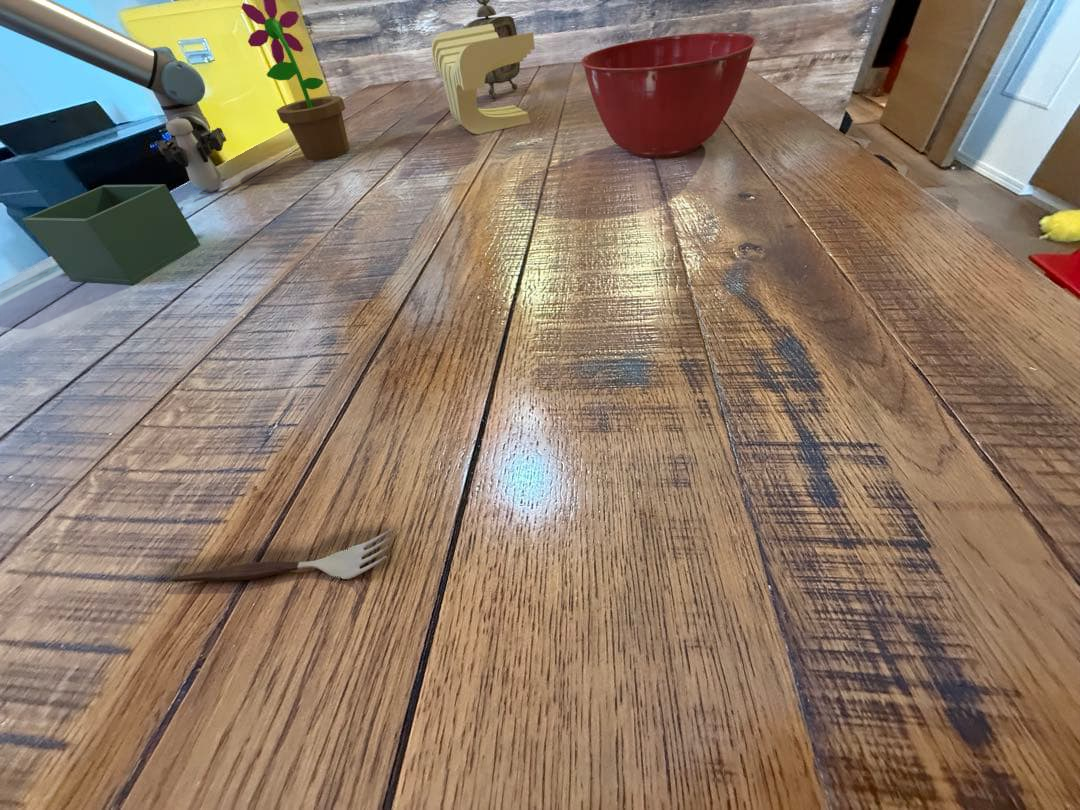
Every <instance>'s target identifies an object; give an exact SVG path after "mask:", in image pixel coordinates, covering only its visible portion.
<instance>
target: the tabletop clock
mask: <svg viewBox="0 0 1080 810" xmlns="http://www.w3.org/2000/svg"><path fill="white" fill-rule="evenodd" d="M476 2H477V3H478V4H480V5H481V6H480V7H479V8H478V10H477V12H476V19H474V20H472V21H470V22H468V23H467V24H466V25H465V26H464V27H463V29H465V28H471V27H476V26H482V25H487V24H492V25H493V27H494V29H495V32H497V34H498V36H499V38H504V37H510V36H515V35H518V33H517V28H516V23H515V20H514V17H512V16H510V15H502V16H496V15H497V12H496V10H495V8H494V7H493V6H492V5H488V3H489V2H491V0H476ZM520 65H521V62H517V63H513V64H509V65H506V66H503V67H500V68H497V69H495V70H493V71H491V72H489V73H487V74H486V77H485V84H488V85H489V89H488V91H487V92H488V95H489V96H490V98H491V99H492V100H494V101H495V100H497V98H498V94H497V93H496V92H495V87H494V85H495V84H503V83H506V82H508V83H509V84H510V85H511V89H512V90H513V91H517V89H518V85H517V84H516V83H514V82H513V79H514V78H516V77H517V76H518V75H519V73H520V69H521V66H520Z"/></svg>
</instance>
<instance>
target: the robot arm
mask: <svg viewBox="0 0 1080 810" xmlns="http://www.w3.org/2000/svg"><path fill="white" fill-rule="evenodd" d="M0 27H3V28H5V29H7V30H9V31H12V32H14V33H16V34H19V35H20V36H23V37H25V38H28V39H30V40H33V41H35V42H37V43H40V44H42V45H45V46H47V47H49V48H51V49H54V50H56V51H58V52H60V53H63V54H66V55H68V56H70V57H73V58H75V59H77V60H79V61H82V62H85V63H86V64H89V65H92V66H94V67H96V68H98V69H101V70H103V71H106V72H108V73H110V74H112V75H114V76H117V77H120V78H122V79H124V80H127V81H129V82H131V83H134V84H135V85H138V86H141V87H143V88H145V89H147V90H149V91H151V92H152V93H153V94H154V96H155V98H156V100H157V102H158V104H159V105H160V108H161V110H162V113H163V114H164V115H165V118H166V119H167V122H169V121H171V120H174V119H180V118H183V119H187V120H189V122H190V123H191V125H192V127H193V131H192V134H193V135H194V137H195V138H196V139H197V141H198V142H197V143H196V145H197V149H198V151H199V153H200V155H201V157H202V159H203V161H204V163H206V162H208V157H209V155H211V154H213V152H214V151H216V152H221V151H222V150H223V146H224V143H225V142H226V141H227V138H226V135H225V134H224V132H223V129H222V128H221V127H216V128H215V129H212V130H211V126H210V124H209V121H208V119H207V117H205V116H204V113H203V111H202V109H201V107H200V104H199V102H201V101H202V100H203V99H204V96H205V94H206V86H205V82H204V81H205V80H204V79H203V77H202V75H201V74H200V73H199V71H197V69H196V68H194V67H193V66H192V65H190V64H188V63H187V62H184V61H182V60H178V58H176V56H175V55H174V53H173V50H172V49H171V48H170V47H168V46H157V47H150V46H148V45H146V44H144V43H142V42H140V41H137V40H136V39H133V38H132V37H130V36H128V35H125V34H123V33H121V32H119V31H116V30H115V29H113V28H111V27H108V26H106V25H104V24H103V23H100V22H98V21H96V20H94V19H92V18H90V17H88V16H85V15H83V14H81V13H79V12H77V11H75V10H73V9H71V8H69V7H67V6H65V5H64V4H63V5H62V4H61V3H58V2H56V1H55V0H0ZM154 144H155V145H156V147H157V149H158V150H159V152H160V154H161V156H164V158H165V159H166V161H167V162H168V163H173V162H174V161H175V162H178V164H179V165H182V167H183V168H186V167H188V161H187V159H186V157H185V155H184V153H183V151H182V149H181V147H179V146H178V143H177V140H176V137H175V136H173V135H170V138H168V142H167V140H156V141H154Z"/></svg>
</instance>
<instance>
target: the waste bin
mask: <svg viewBox="0 0 1080 810" xmlns="http://www.w3.org/2000/svg"><path fill="white" fill-rule="evenodd" d="M21 220H22V222H23V223H24V224H25V225H26V227H27V228H28V229H29V230H30V232H31V233H32V235H33V236H34V237H35V238H36V239H37V240H38V242H39V243H40V244H41V245H42V247H43V248H44V249H45V250H46V252H47V253H48V254H49V256H50V257H51V258H52V259H53V261H54V262H55V263H56V264H57V265H58V266H59V268H60V269H61V270H62V272H63V273H64V274H65V275H66V276H67V278H68V279H69V280H70V281H71V282H81V283H97V284H98V283H99V284H112V285H124V286H135V285H136V284H137V283H139V282H140V281H142V280H144V279H146V278H147V277H149V276H151V275H153V274H155V273H156V272H157V271H159V270H161V269H162V268H164V267H166V266H167V265H169V264H171V263H173V262H174V261H176V260H177V259H179V258H181V257H183V256H184V255H186V254H188V253H190V252H191V251H193V250H194V249H196V248H198V247H200V246H201V243H200V240H199V239H198V237H197V236H196V234H195V232H194V231H193V229H192V227H191V226H190V224H189V222H188V220H187V219H186V217H185V215H184V214H183V212H182V210H181V208H180V207H179V205H178V204H177V201H176V200H175V199H174V196H173V195H172V193H171V191H170V189H169V188H168V187H167V185H166V184H165V183H163V184H162V183H161V184H103V185H101V186H98V187H96V188H94V189H93V188H92V189H91V190H88V191H86V192H84V193H82V194H79V195H77V196H75V197H71V198H69V199H67V200H64V201H62V202H60V203H58V204H55V205H53V206H49V207H47V208H45V209H43V210H41V211H38V212H36V213H33V214H30V215H28V216H26V217H23V218H22V219H21Z"/></svg>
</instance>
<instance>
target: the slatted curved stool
mask: <svg viewBox="0 0 1080 810" xmlns="http://www.w3.org/2000/svg"><path fill="white" fill-rule="evenodd" d="M534 37H535V36H534V31H531V32H527V33H520V34H517V35H515V36H510V37H504V38H499V36H498V34H497V32H495V29H494V27H493V25H492V24H487V25H482V26H476V27H471V28H465V29H464V28H460V29H454V30H449V31H443V32H441V33H438V34H437V35H436V36H435V37H434V38H433V40H432V43H431V47H430V48H431V50H430V53H431V57H432V62H433V66H434V71H435V73H439V75H440V77H441V80H443V86H444V89H445V93H446V97H447V101H448V106H449V111H450V113H451V115H452V117H453V118H454V119H455V121H456V122H458V123H459V124H460V125H461V126H462V127H463V128H464V129H465V130H467V131H468V132H470V133H472V134H475V135H482V134H486V133H492V132H496V131H500V130H506V129H509V128H514V127H518V126H523V125H528V124H531V120H530V115H529V113H528V111H525V110H523V109H522V108H520V107H518V106H517V105H515V104H512V105H511V104H510V105H507V106H500V107H491V108H479V107H478V104H477V93H478V89H482V88H485V84H486V83H485V77H486V74H487V73H489V72H491V71H493V70H495V69H497V68H500V67H503V66H506V65H509V64H513V63H517V62H520V63H521V62H524V59H526V58H528V55H530V54H532V51H534V50H536V46H535V38H534Z"/></svg>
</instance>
